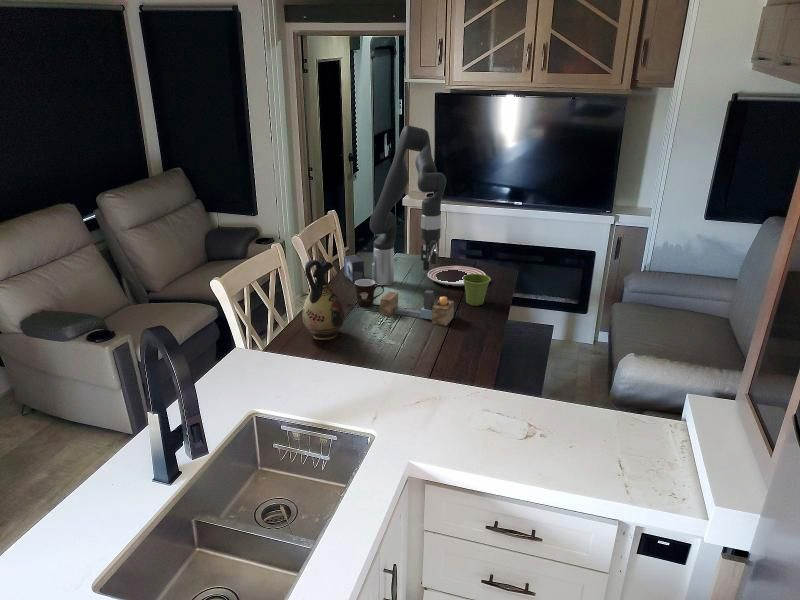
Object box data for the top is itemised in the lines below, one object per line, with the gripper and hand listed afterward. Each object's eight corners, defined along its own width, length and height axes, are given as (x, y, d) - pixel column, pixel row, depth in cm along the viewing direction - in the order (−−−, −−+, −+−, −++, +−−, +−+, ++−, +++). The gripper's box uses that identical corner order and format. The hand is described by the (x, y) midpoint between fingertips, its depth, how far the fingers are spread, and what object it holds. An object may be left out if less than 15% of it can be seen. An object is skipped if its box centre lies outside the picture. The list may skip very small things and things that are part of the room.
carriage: (420, 317, 235) (420, 292, 231) (424, 313, 239) (425, 288, 235) (432, 319, 233) (433, 294, 229) (436, 314, 237) (437, 290, 233)
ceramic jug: (324, 323, 231) (321, 250, 220) (353, 334, 222) (351, 258, 211) (291, 337, 219) (286, 260, 208) (320, 349, 210) (316, 269, 198)
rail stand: (380, 314, 239) (380, 298, 236) (389, 307, 247) (389, 291, 244) (446, 325, 229) (447, 309, 226) (453, 317, 237) (453, 301, 234)
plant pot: (467, 309, 245) (468, 284, 240) (457, 299, 255) (458, 274, 251) (493, 306, 248) (495, 281, 243) (482, 296, 258) (484, 272, 254)
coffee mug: (351, 306, 247) (350, 283, 244) (361, 299, 254) (361, 277, 251) (375, 311, 242) (374, 288, 239) (385, 304, 249) (385, 282, 246)
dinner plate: (417, 275, 285) (417, 268, 284) (466, 268, 296) (466, 261, 294) (445, 294, 262) (445, 287, 260) (496, 285, 272) (497, 278, 271)
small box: (343, 277, 282) (342, 256, 278) (355, 275, 284) (355, 254, 281) (352, 283, 273) (351, 262, 269) (365, 281, 276) (364, 260, 272)
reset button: (438, 306, 231) (438, 298, 230) (440, 304, 234) (441, 296, 232) (445, 308, 230) (445, 299, 229) (447, 305, 233) (448, 297, 231)
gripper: (427, 221, 230) (426, 260, 236) (414, 229, 217) (414, 271, 223) (446, 222, 227) (444, 262, 233) (434, 231, 215) (433, 273, 221)
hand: (429, 266), depth 228 cm, fingers open, 8 cm apart
